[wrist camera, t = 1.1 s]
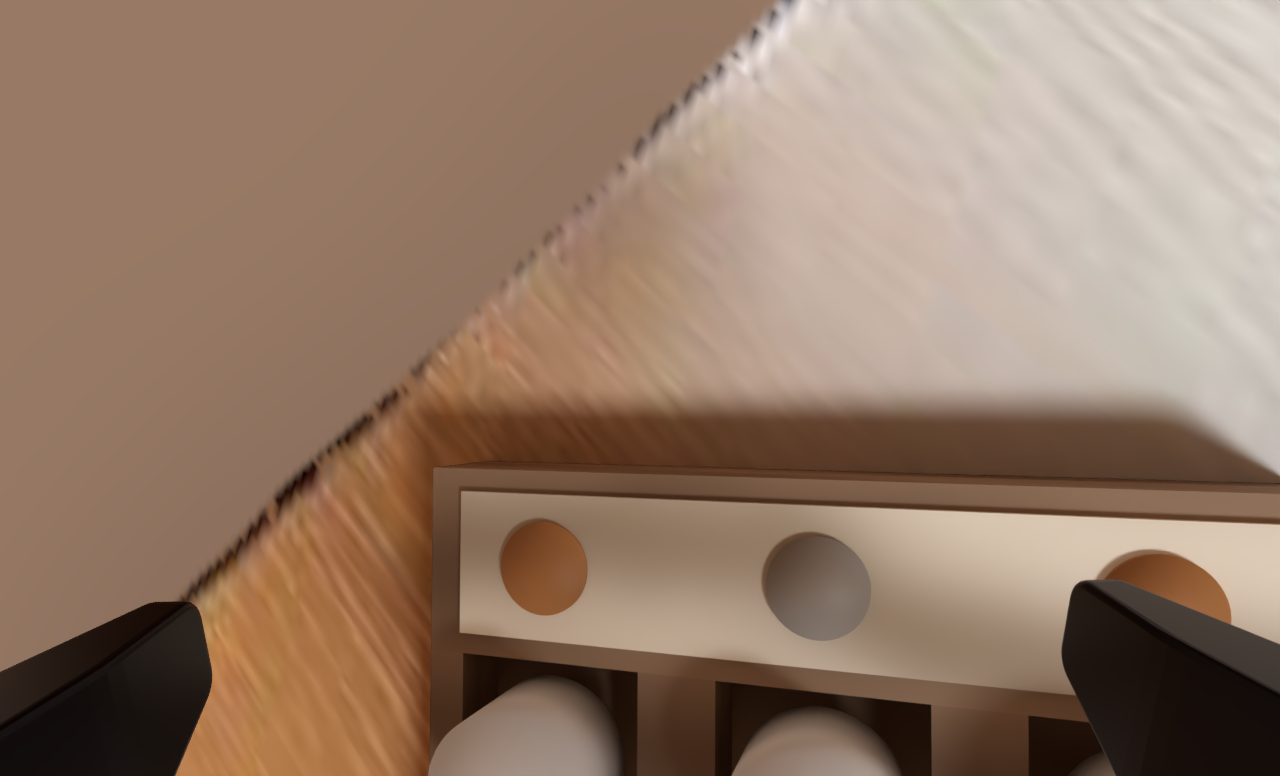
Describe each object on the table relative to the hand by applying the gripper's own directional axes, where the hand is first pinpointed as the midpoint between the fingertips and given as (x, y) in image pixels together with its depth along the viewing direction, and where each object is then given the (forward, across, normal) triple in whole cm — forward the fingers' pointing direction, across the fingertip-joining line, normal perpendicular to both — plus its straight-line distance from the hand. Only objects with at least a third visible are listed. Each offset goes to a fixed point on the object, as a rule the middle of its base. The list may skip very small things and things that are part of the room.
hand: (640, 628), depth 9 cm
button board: (+11, -5, +10) cm, 16 cm away
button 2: (+11, +2, +11) cm, 16 cm away
